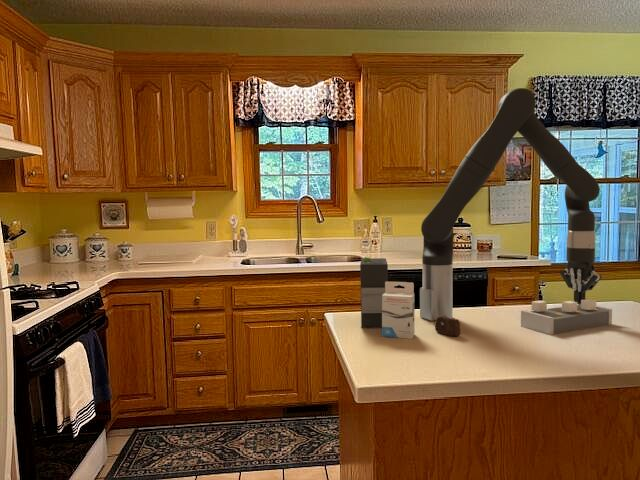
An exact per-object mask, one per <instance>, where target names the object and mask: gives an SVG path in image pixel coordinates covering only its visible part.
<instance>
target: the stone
mask: <svg viewBox="0 0 640 480" xmlns="http://www.w3.org/2000/svg"><path fill="white" fill-rule="evenodd" d="M434 329H435V332H437V333H438V334H442V335H444V336H445V335H446V336H447V337H458V336H460V335H461V324H460V320H459V319H457V318H452V319H451V318H448V317H446V316H441V317H438V318H437V321H436V323H435V325H434Z"/></svg>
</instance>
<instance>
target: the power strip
mask: <svg viewBox="0 0 640 480" xmlns="http://www.w3.org/2000/svg"><path fill="white" fill-rule="evenodd" d="M608 325H613V308H610V307H606V306H601V305H596V309H592V310H586V309H582V308H581V304H577V311H574V312H566V311H562V306H560V307H551V308H547V310H546V311H539V312H538V311H534V310H531V311H528V310H525V309H524V310H523V309H522V310H520V326H521V327H523V328H525V329H526V328H527V329H528V330H533V331H537V332H539V333H543V334H547V335H554V334H555V335H556V334H560V333H566V332H573V331H579V330H584V329H590V328H596V327H597V328H598V327H603V326H608Z"/></svg>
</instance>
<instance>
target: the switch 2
mask: <svg viewBox="0 0 640 480" xmlns="http://www.w3.org/2000/svg"><path fill="white" fill-rule="evenodd" d="M577 305H578V304H577V302H575V301H574V300H573V301H572V300H567V301H561V307H562V311H566V312H574V311H577Z"/></svg>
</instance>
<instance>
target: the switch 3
mask: <svg viewBox="0 0 640 480" xmlns="http://www.w3.org/2000/svg"><path fill="white" fill-rule="evenodd" d="M596 306H597V300H595V299H592V298H587V299H586V298H585V299H584V300H581V308H582V309H586V310H592V309H596Z"/></svg>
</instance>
